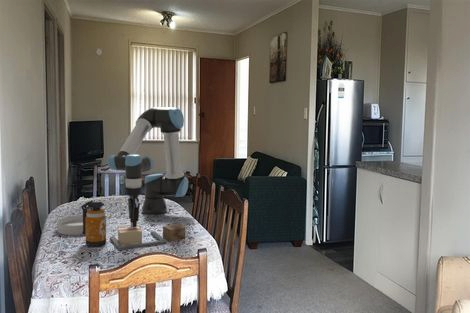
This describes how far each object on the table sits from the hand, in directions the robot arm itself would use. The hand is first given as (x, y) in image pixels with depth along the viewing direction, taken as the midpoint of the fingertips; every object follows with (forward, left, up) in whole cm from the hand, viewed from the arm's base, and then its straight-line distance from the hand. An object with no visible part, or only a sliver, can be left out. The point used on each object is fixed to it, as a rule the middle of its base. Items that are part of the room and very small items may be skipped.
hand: (133, 234), depth 197 cm
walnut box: (-17, +10, -2) cm, 20 cm away
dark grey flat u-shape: (0, +7, -1) cm, 7 cm away
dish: (+21, -26, -2) cm, 33 cm away
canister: (+19, +2, -2) cm, 19 cm away
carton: (+3, +6, -2) cm, 7 cm away
